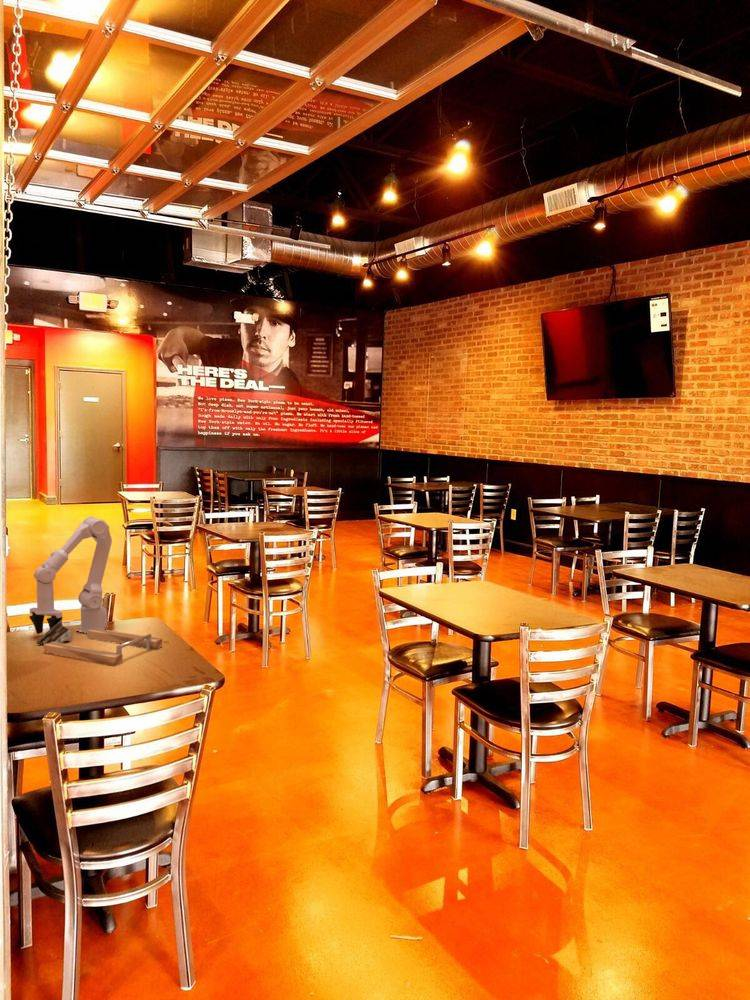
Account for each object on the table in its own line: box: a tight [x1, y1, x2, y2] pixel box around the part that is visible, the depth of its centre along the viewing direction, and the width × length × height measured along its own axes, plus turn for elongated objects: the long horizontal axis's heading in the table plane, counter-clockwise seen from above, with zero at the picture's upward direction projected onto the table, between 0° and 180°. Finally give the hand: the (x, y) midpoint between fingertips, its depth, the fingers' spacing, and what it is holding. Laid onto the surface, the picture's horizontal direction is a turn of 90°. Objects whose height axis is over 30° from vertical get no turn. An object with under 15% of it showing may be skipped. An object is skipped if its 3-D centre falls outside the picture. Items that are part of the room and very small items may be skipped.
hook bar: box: [115, 633, 152, 655], centre depth 258 cm, size 16×1×6 cm, turn 156°
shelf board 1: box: [43, 642, 124, 667], centre depth 255 cm, size 4×32×3 cm, turn 66°
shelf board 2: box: [86, 628, 163, 651], centre depth 273 cm, size 4×32×3 cm, turn 66°
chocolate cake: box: [36, 619, 73, 645], centre depth 273 cm, size 10×7×12 cm
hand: (46, 634), depth 277 cm, fingers open, 7 cm apart
